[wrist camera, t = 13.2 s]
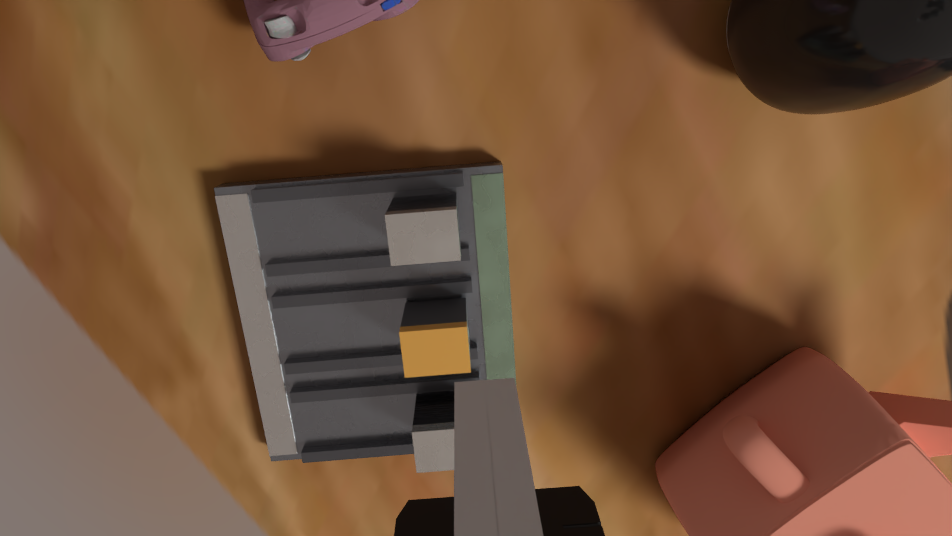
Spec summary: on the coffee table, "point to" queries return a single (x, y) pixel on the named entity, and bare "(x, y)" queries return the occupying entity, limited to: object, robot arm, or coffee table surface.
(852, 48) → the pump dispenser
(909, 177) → the coffee table surface
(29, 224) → the coffee table surface
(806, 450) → the teapot
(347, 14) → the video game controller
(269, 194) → the panel
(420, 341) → the breaker
